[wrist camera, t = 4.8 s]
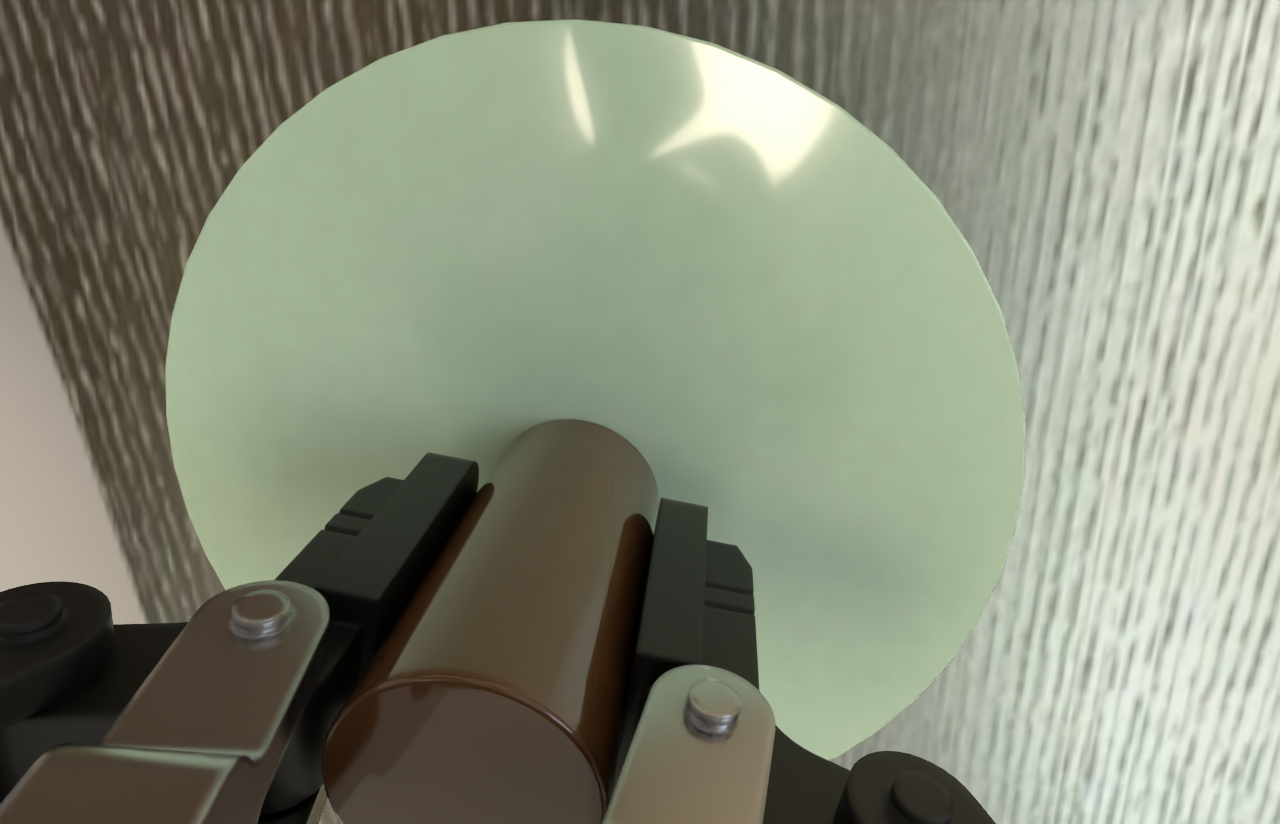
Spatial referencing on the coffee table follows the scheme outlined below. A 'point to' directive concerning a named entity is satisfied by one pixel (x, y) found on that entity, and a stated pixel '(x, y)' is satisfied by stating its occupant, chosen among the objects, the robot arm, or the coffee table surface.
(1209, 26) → the coffee table surface
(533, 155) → the lid
